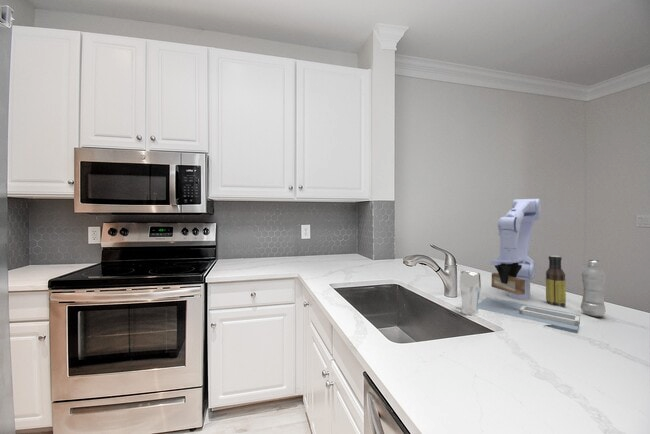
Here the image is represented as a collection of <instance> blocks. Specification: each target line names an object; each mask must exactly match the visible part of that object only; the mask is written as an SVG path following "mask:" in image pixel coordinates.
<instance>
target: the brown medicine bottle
mask: <svg viewBox="0 0 650 434" xmlns="http://www.w3.org/2000/svg"><path fill="white" fill-rule="evenodd" d="M562 259H563V258H562V256H560V255H548V261H549V262H548V264H549V265H548V268H547V270H546V271H545V301H546V304H549V305H551V306H554V307H555V306H557V307H560V308H566V303H567V293H566V291H567V290H566V288H567V287H566V285H567V284H566V282H567V281H566V274H565V272H564V270H563V269H562Z"/></svg>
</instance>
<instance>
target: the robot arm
mask: <svg viewBox="0 0 650 434" xmlns="http://www.w3.org/2000/svg"><path fill="white" fill-rule="evenodd" d="M541 212H542V201H541V199H540V198H523V199H522V198H521V199H520V198H519V199H517V198H515V199H513V200H512V203H511V209H509V211H508V212H506V214H505V215H504V216H501V217H499V218H498V220H497V230H498V236H499V257H497V258H494V259H490V265H492V266H494V267H495V269H496V270H497V273H499V276H500V280H501V283H504V284H507V282H508V276H512V277H517V278H521V279H525V294H524V295H517V294H514V293H510V292H509V297H510V298H512V299H515V300H521V301H523V300H524V301H528V300H531V280H533V279H535V277H536V276H535V275H536V262H535V261H534V260H533V259H532V258H531V257H529V254H530V250H531V249H530V248H531V242H532V236H533V235H532V234H533V229H534V225H535V222H537V221H538V220H539V219H540V217H541Z"/></svg>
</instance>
